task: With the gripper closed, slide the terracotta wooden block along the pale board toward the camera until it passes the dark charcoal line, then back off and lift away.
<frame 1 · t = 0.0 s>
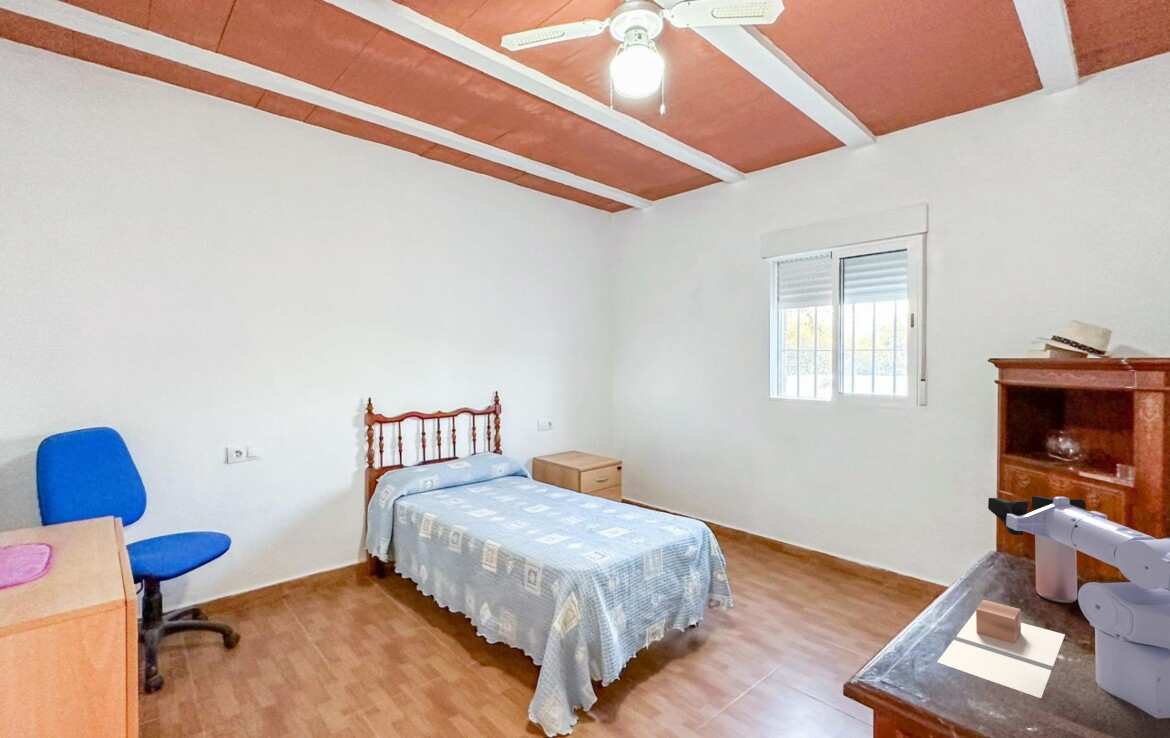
hand: (1011, 502, 91), 22 cm above the table, tool horizontal, fingers open, 7 cm apart
board: (1003, 654, 83), on the table
beverage can: (1056, 597, 102), on the table
block: (998, 633, 87), point 1 cm above the table, touching board
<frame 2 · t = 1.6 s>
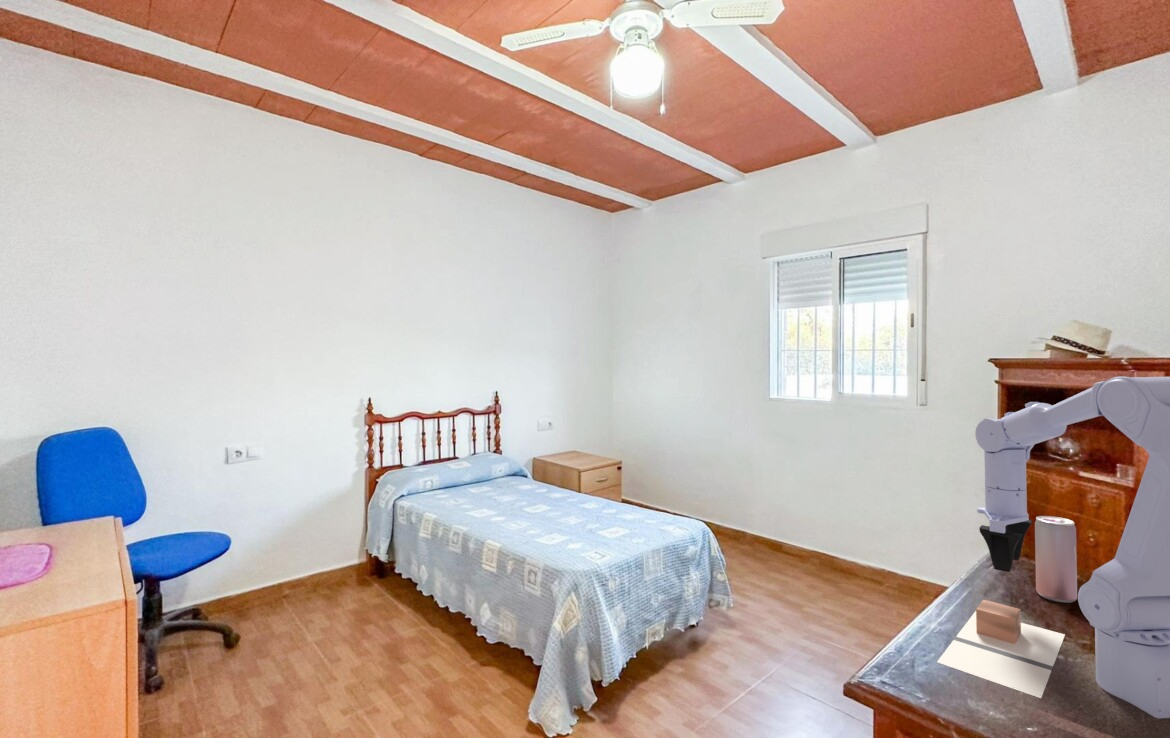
hand: (1006, 564, 92), 10 cm above the table, tool pointing down, fingers open, 7 cm apart
nothing on the table moved.
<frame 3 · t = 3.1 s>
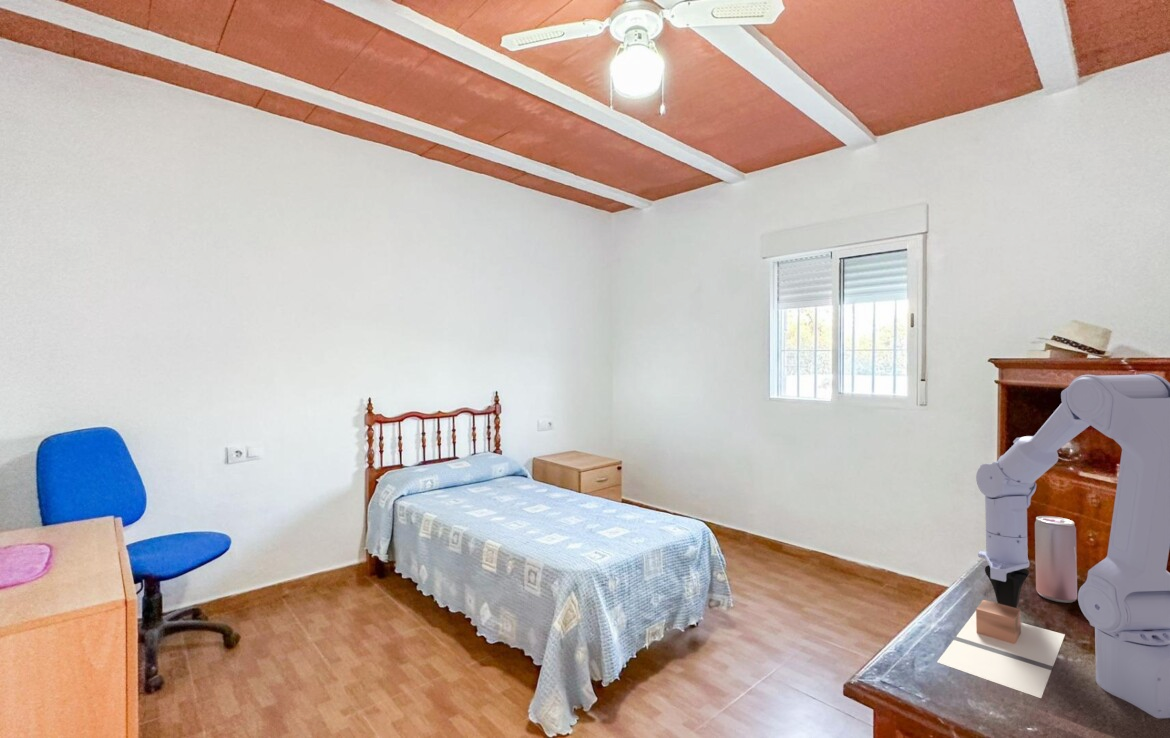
hand: (1007, 609, 92), 2 cm above the table, tool pointing down, fingers closed
nothing on the table moved.
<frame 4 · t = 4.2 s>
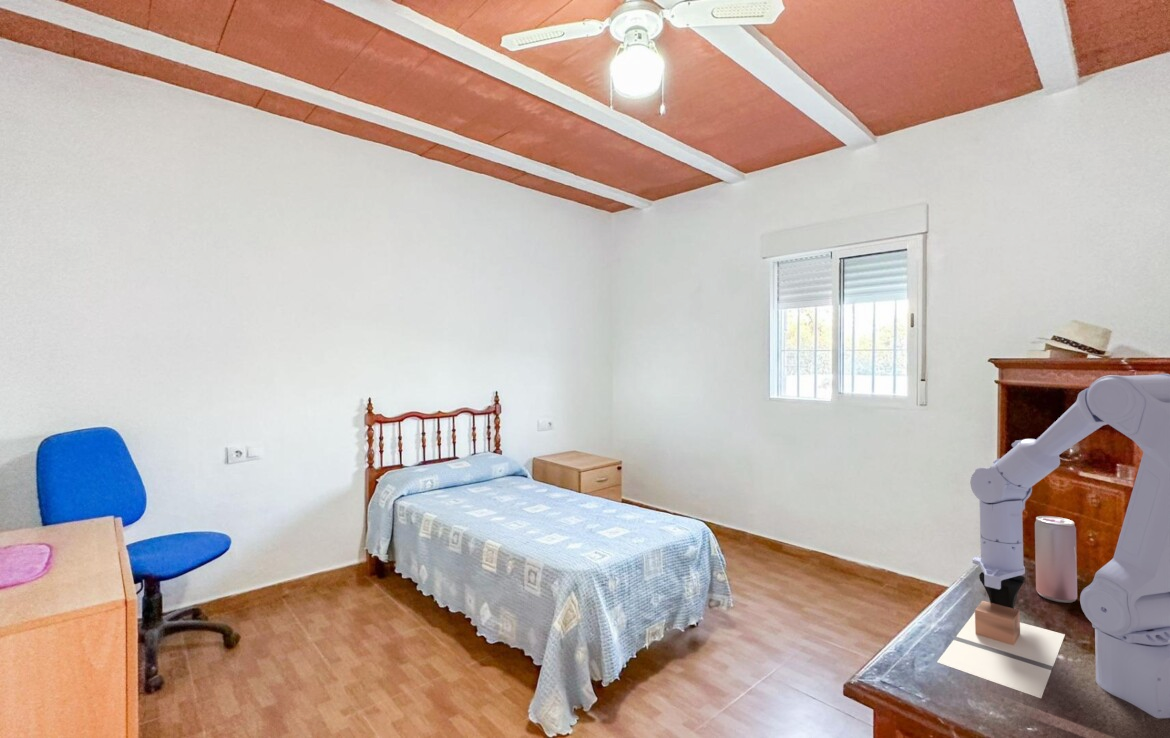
hand: (1002, 618, 90), 2 cm above the table, tool pointing down, fingers closed
block: (997, 634, 87), point 1 cm above the table, touching board, gripper
everything else where it was.
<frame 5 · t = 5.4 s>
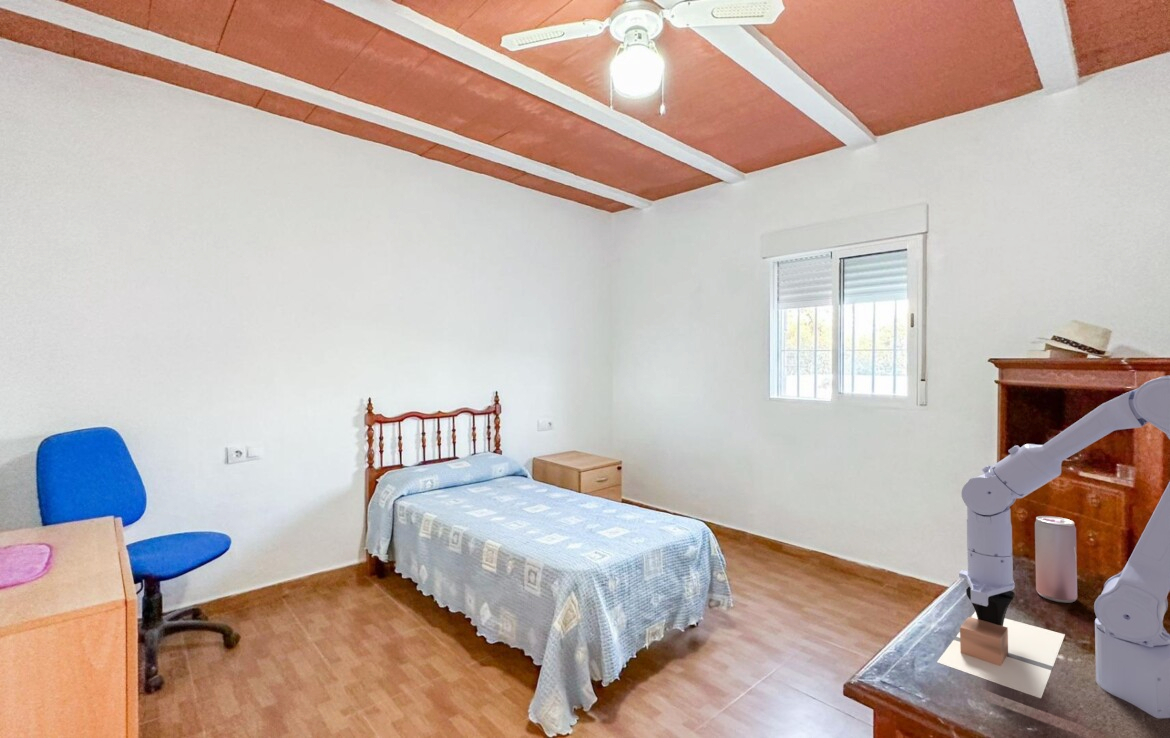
hand: (990, 635, 84), 2 cm above the table, tool pointing down, fingers closed
block: (984, 653, 81), point 1 cm above the table, touching gripper
everything else where it was.
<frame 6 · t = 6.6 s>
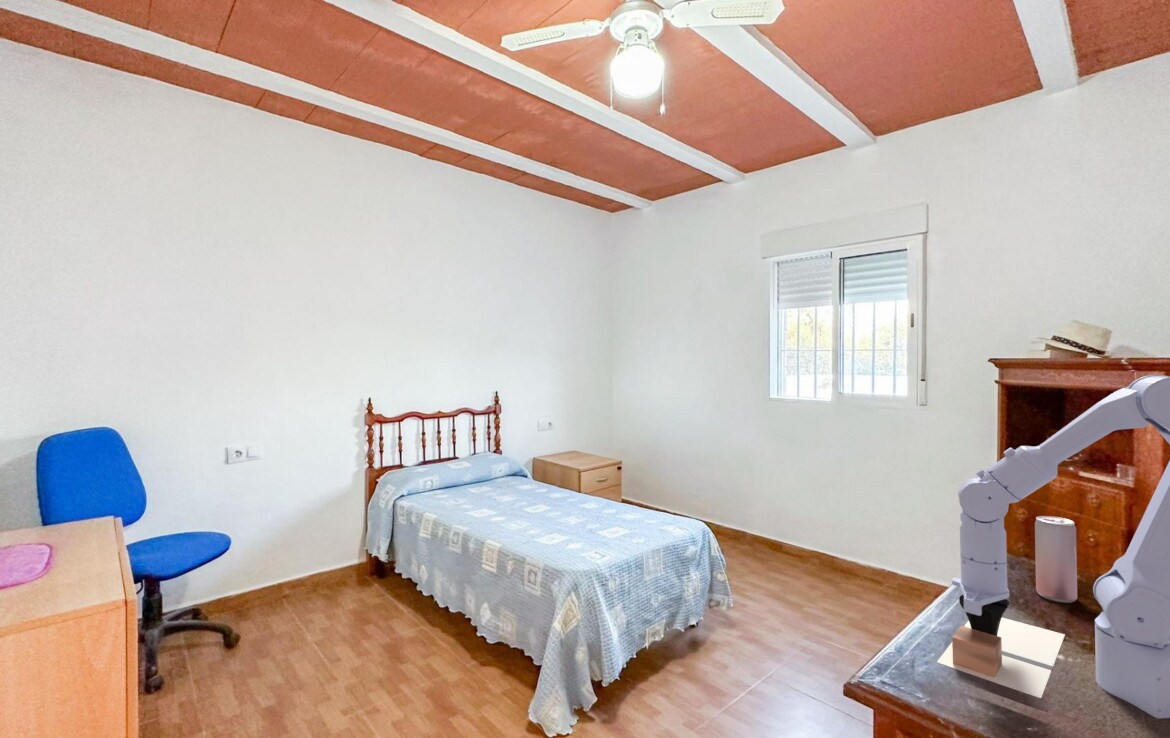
hand: (984, 645, 81), 2 cm above the table, tool pointing down, fingers closed
block: (977, 663, 79), point 1 cm above the table, touching board, gripper
everything else where it was.
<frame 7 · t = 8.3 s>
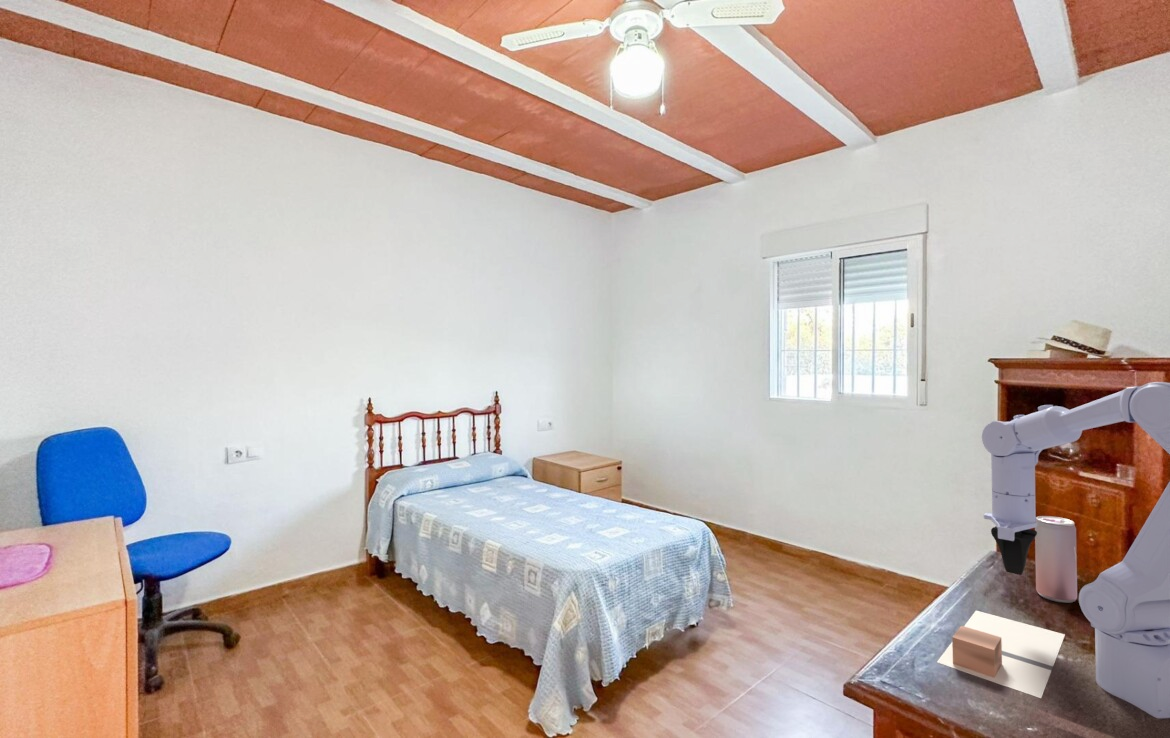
hand: (1014, 572, 89), 10 cm above the table, tool pointing down, fingers closed
block: (977, 663, 79), point 1 cm above the table, touching board
everything else where it was.
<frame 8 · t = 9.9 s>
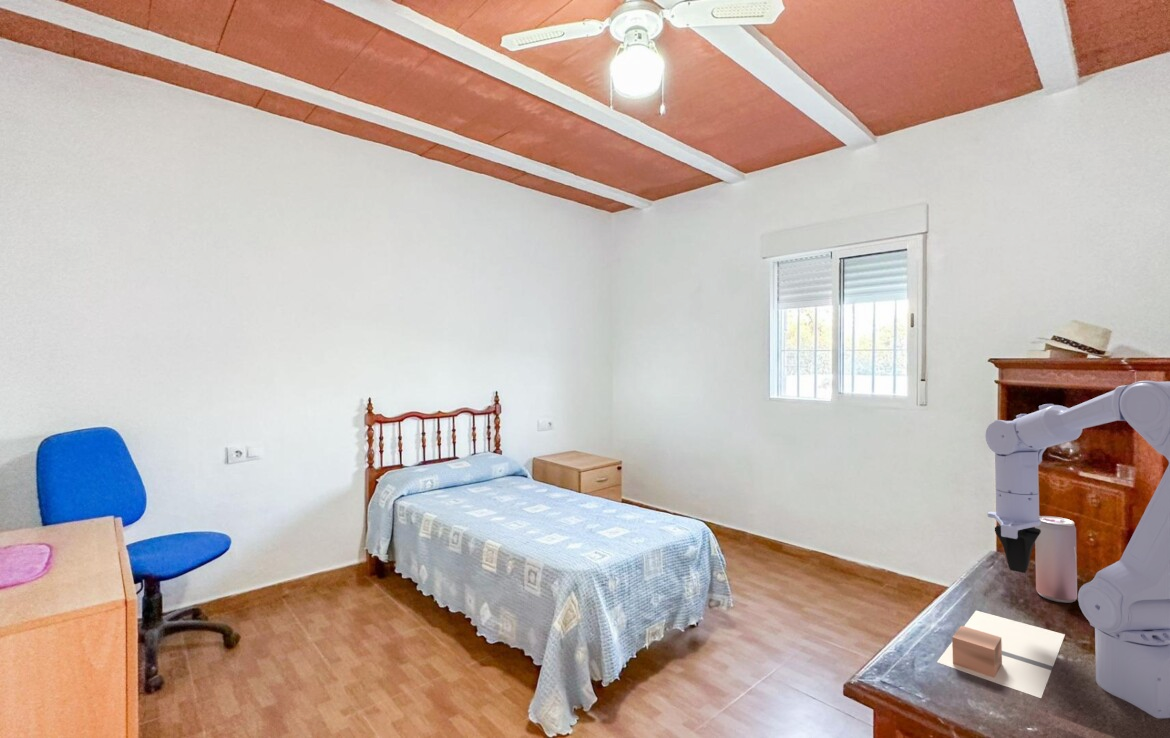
hand: (1018, 570, 90), 10 cm above the table, tool pointing down, fingers closed
nothing on the table moved.
at the end: block 0.8 cm from the target spot on the board, point 1.0 cm above the board's base; block tilted 0°; block moved 13.3 cm from its start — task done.
